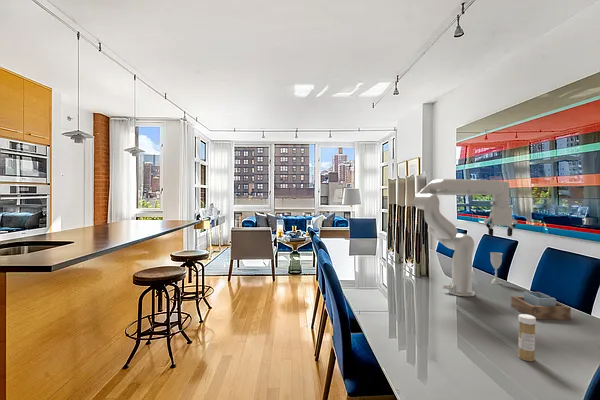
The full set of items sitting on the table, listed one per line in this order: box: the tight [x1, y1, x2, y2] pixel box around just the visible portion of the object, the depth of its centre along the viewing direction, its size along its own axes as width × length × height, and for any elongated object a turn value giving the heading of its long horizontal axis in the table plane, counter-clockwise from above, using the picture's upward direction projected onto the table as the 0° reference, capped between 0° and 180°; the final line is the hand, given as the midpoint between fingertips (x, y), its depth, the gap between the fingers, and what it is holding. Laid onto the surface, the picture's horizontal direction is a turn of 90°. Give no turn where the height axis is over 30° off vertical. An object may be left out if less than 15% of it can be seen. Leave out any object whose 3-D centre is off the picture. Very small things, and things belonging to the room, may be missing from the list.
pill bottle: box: [517, 313, 537, 362], centre depth 108 cm, size 5×5×14 cm
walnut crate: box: [510, 295, 572, 321], centre depth 152 cm, size 16×16×5 cm
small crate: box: [523, 291, 557, 306], centre depth 152 cm, size 7×11×7 cm, turn 177°
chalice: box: [489, 251, 504, 285], centre depth 206 cm, size 7×7×18 cm
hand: (500, 236), depth 186 cm, fingers open, 9 cm apart
